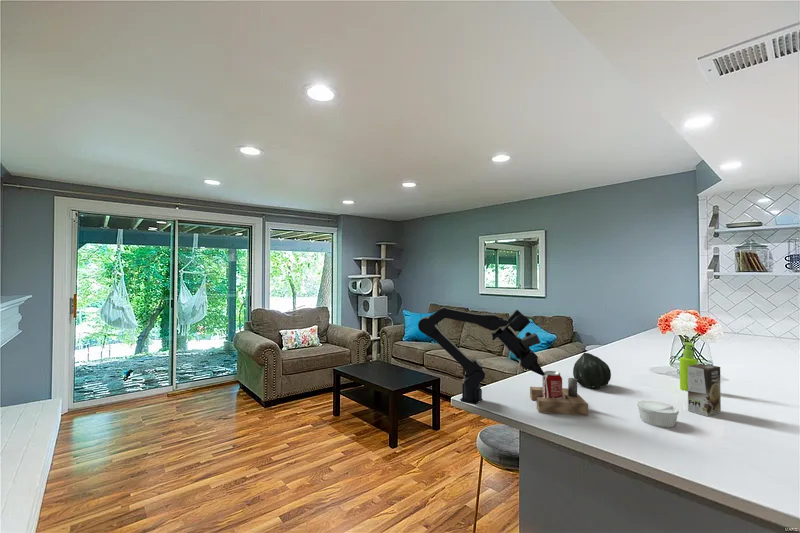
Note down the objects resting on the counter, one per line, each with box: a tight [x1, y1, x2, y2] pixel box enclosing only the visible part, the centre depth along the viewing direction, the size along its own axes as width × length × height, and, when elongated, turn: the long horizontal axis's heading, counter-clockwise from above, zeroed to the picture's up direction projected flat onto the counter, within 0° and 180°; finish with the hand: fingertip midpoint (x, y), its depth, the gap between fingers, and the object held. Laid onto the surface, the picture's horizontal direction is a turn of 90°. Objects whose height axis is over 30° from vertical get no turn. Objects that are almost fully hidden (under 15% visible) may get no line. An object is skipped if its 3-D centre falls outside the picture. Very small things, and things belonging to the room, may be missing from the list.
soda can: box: [542, 370, 563, 399], centre depth 138 cm, size 7×7×12 cm
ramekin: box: [636, 400, 680, 428], centre depth 123 cm, size 11×11×5 cm
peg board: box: [529, 377, 589, 417], centre depth 138 cm, size 16×17×10 cm
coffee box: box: [687, 363, 722, 417], centre depth 133 cm, size 9×6×16 cm
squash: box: [572, 352, 612, 389], centre depth 163 cm, size 14×15×15 cm
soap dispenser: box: [679, 341, 698, 392], centre depth 158 cm, size 6×7×20 cm
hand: (541, 371), depth 139 cm, fingers open, 9 cm apart
